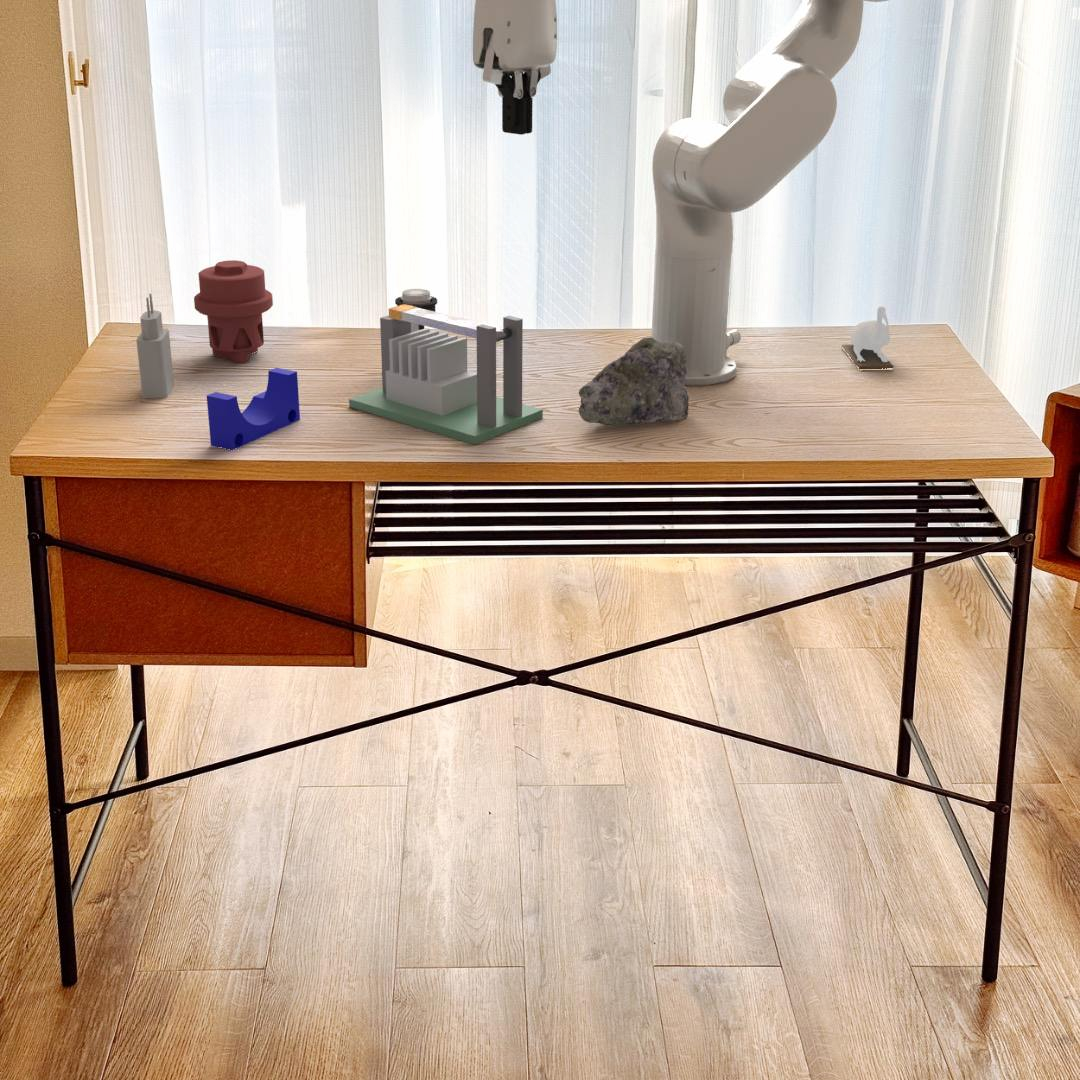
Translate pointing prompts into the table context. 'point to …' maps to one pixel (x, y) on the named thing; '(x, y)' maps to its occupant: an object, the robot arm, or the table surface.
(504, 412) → the board
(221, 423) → the blue cradle bracket
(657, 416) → the mineral rock
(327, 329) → the table surface
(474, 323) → the hinged grey bar
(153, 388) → the power adapter
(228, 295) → the mechanical component
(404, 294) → the push button
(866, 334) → the figurine
